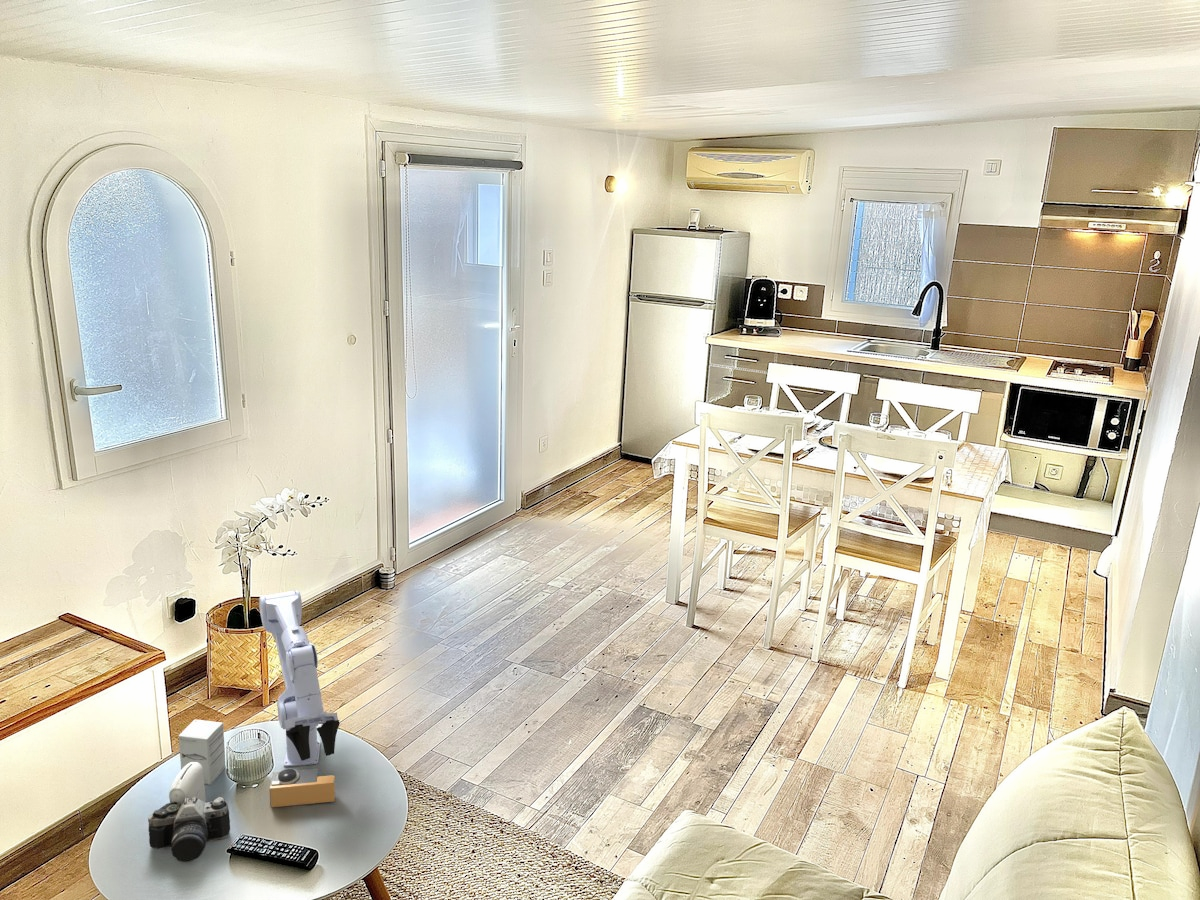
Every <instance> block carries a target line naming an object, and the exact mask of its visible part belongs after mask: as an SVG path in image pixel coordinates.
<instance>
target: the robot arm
mask: <svg viewBox="0 0 1200 900" xmlns="http://www.w3.org/2000/svg"><path fill="white" fill-rule="evenodd" d="M258 607H259V613H260V615H259V616H260V619H261V623H262V624H261V625H262V627H263V629H264V631H265V632H268V633H270V634H271V635H272V636H273V639H274V642H275V644H276V648H277V649H276V650H277V654H278V659H279V663H280V667H281V668H280V669H281V673H282V678H283V682H284V686H285V690H284V691H283V692H282V693H281V694H280V695H279V696H278V699H277V703H276V706H277V707H276V708H277V716H278V722H279V726H280V728H281V729H283V730H285V738H286V739H285V741H286V752H285V756H284V761H283V767H286V768H287V767H296V766H309V765H317V764H318V763H319V759H320V758H319V757H320V750H321V742H322V746H323V752H324V754H325V756H326V757H328V756H331V755H334V754H335V749H336V739H337V738H336V737H337V733H338V729H339V728H340V727H339V726H340V724H341V723H340V720H339V718H338V713H337V712H327V711H324V705H323V699H322V694H321V688H320V687H321V686H320V683H319V676H318V670H317V668H318V660H319V659H318V658H319V657H318V652H317V650H316V646H315V644H314V643H312V642H311V641H310V640H309V637H308V634H307V631H306V630H305V628H304V627H303V626H301V623H302V616H303V615H302V611H303V600H302V596H301V593H300V592H299V591H298V589H294V590H292V591H291V590H290V591H285V592H284V591H283V592H278V593H273V594H267V595H264V594H261V596H260V597H259V598H258ZM319 725H320V726H319ZM318 726H319V727H318ZM318 734H319V737H320V740H319V739H318Z"/></svg>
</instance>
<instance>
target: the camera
mask: <svg viewBox="0 0 1200 900" xmlns="http://www.w3.org/2000/svg"><path fill="white" fill-rule="evenodd" d="M228 805H229V804H228V801H227V800H225V798H223V797H221V796H218V797H217V798H215V799H214V800H213V801H212V800H211V801H210V802H209V801H208V802H207V801H206V803H205V802H203V801H202V800H200V799H197V798H196V797H195V796H194V797H193V798H185V801H184V802H182V803H181V805H177V802H171V803H170V802H168V803H166V804H164V805H163V806H161V807H160V808H159V809H156V810H154V811H153V812H151V813H149V815H148V817H147V818H148V819H147V821H148V838H149V839H148V841H149V842H148V843H149V846H150V848H152V849H153V850H159V849H168V848H170V851H171V854H172V857H174V858H175V859H176V860H177V861H178V862H183V863H188V862H192V861H194V860H196V859H198V858H200V856H201V855H202V854H203V851H204V850H205V848H206V844H207V842H211V841H220V840H224V839H227V837H229V836H230V832H231V831H230V830H231V819H230V810H229V806H228Z"/></svg>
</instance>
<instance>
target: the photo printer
mask: <svg viewBox="0 0 1200 900" xmlns="http://www.w3.org/2000/svg"><path fill="white" fill-rule="evenodd" d="M205 788H206V786H205V784H204V775H203V768H202V766H201V764H199V763H198V762H190V763H188V764H187V765H186V766H185V767H184V768H183V769H182V770H181V769H180V771H178V773H177V775H176V777H174V780H173V782H172V784H171V786H170V789H169V792H168V798H169V803H171V802H177V805H181V803H182V802H184V801H185V798H193V797H194V796H195V797H196V798H197V799H200V800H202V801H203V802H205V803H207V801H206V800H207V799H206V789H205Z"/></svg>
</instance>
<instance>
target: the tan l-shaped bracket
mask: <svg viewBox="0 0 1200 900" xmlns="http://www.w3.org/2000/svg"><path fill="white" fill-rule="evenodd" d="M269 789H270V790H269V798H270V797H271V806H270V807H271V808H277V807H280V808H281V807H288V806H289V807H290V806H300V805H311V804H319V803H329V802H330V803H331V802H335V799H336V797H335V796H336V783H335V775H331V774H330V775H318V777H317V782H312V783H301V784H290V785H279V786H270V785H269Z"/></svg>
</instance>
